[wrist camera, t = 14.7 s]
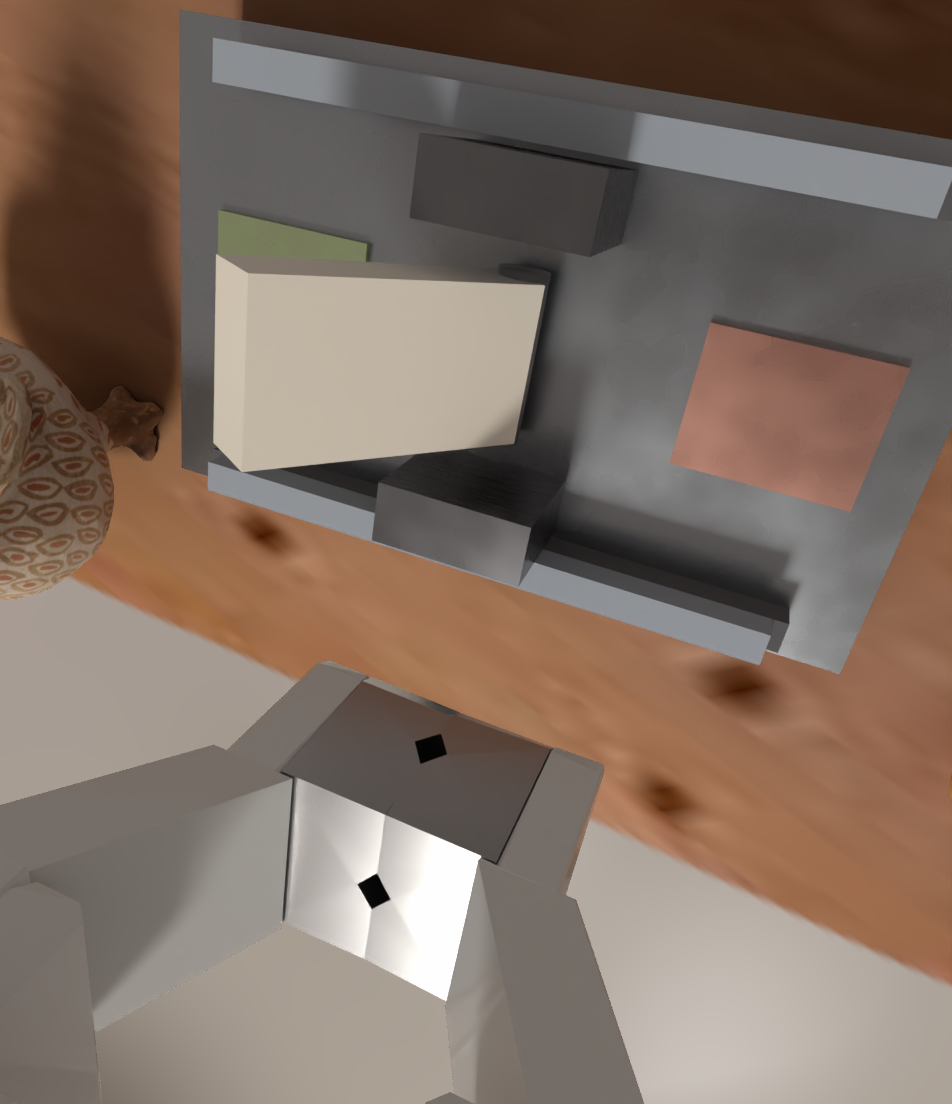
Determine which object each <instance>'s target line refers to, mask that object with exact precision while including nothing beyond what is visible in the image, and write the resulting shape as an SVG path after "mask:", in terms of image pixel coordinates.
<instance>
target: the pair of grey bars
mask: <svg viewBox="0 0 952 1104" xmlns="http://www.w3.org/2000/svg"><path fill="white" fill-rule="evenodd" d="M212 82H215V83H220V84H226V85H231V86H236V87H242V88H247V89H252V90H257V91H263V92H268V93H273V94H279V95H284V96H289V97H294V98H300V99H305V100H310V101H316V102H321V103H326V104H331V105H337V106H342V107H347V108H353V109H358V110H363V111H368V112H374V113H379V114H384V115H390V116H395V117H400V118H405V119H411V120H416V121H421V122H427V123H432V124H437V125H442V126H448V127H453V128H458V129H464V130H469V131H474V132H479V133H485V134H490V135H495V136H501V137H506V138H511V139H516V140H522V141H527V142H532V143H538V144H543V145H548V146H553V147H559V148H564V149H569V150H575V151H580V152H585V153H590V154H596V155H601V156H606V157H612V158H617V159H622V160H627V161H633V162H638V163H643V164H649V165H654V166H659V167H664V168H670V169H675V170H680V171H686V172H691V173H696V174H701V175H707V176H712V177H717V178H723V179H728V180H733V181H738V182H744V183H749V184H754V185H760V186H765V187H770V188H775V189H781V190H786V191H791V192H797V193H802V194H807V195H812V196H818V197H823V198H828V199H834V200H839V201H844V202H849V203H855V204H860V205H865V206H871V207H876V208H881V209H886V210H892V211H897V212H902V213H908V214H913V215H918V216H923V217H929V218H934V219H937V218H938V219H943V220H948V221H952V167H948V166H942V165H936V164H931V163H925V162H919V161H914V160H908V159H902V158H896V157H891V156H885V155H879V154H874V153H868V152H862V151H857V150H851V149H845V148H839V147H834V146H828V145H822V144H817V143H811V142H805V141H799V140H794V139H788V138H782V137H777V136H771V135H765V134H760V133H754V132H748V131H742V130H737V129H731V128H725V127H720V126H714V125H708V124H702V123H697V122H691V121H685V120H680V119H674V118H668V117H663V116H657V115H651V114H645V113H640V112H634V111H628V110H623V109H617V108H611V107H605V106H600V105H594V104H588V103H583V102H577V101H571V100H566V99H560V98H554V97H548V96H543V95H537V94H531V93H526V92H520V91H514V90H509V89H503V88H497V87H491V86H486V85H480V84H474V83H469V82H463V81H457V80H451V79H446V78H440V77H434V76H429V75H423V74H417V73H412V72H406V71H400V70H394V69H389V68H383V67H377V66H372V65H366V64H360V63H354V62H349V61H343V60H337V59H332V58H326V57H320V56H315V55H309V54H303V53H297V52H292V51H286V50H280V49H275V48H269V47H263V46H257V45H252V44H246V43H240V42H235V41H229V40H223V39H218V38H213V74H212ZM208 490H210V491H213V492H216V493H219V494H222V495H225V496H229V497H232V498H235V499H238V500H241V501H244V502H247V503H251V504H254V505H257V506H260V507H263V508H266V509H270V510H273V511H276V512H279V513H282V514H285V515H288V516H292V517H295V518H298V519H301V520H304V521H307V522H310V523H314V524H317V525H320V526H323V527H326V528H329V529H332V530H336V531H339V532H342V533H345V534H348V535H351V536H354V537H358V538H361V539H364V540H367V541H370V542H373V543H376V544H380V545H383V546H386V547H389V548H392V549H395V550H398V551H402V552H405V553H408V554H411V555H414V556H417V557H420V558H424V559H427V560H430V561H433V562H436V563H439V564H442V565H446V566H449V567H452V568H455V569H458V570H461V571H464V572H468V573H471V574H474V575H477V576H480V577H483V578H486V579H490V580H493V581H496V582H499V583H502V584H505V585H509V586H512V587H515V588H518V589H521V590H524V591H527V592H531V593H534V594H537V595H540V596H543V597H546V598H549V599H553V600H556V601H559V602H562V603H565V604H568V605H571V606H575V607H578V608H581V609H584V610H587V611H590V612H593V613H597V614H600V615H603V616H606V617H609V618H612V619H615V620H619V621H622V622H625V623H628V624H631V625H634V626H637V627H641V628H644V629H647V630H650V631H653V632H656V633H659V634H663V635H666V636H669V637H672V638H675V639H678V640H681V641H685V642H688V643H691V644H694V645H697V646H700V647H703V648H707V649H710V650H713V651H716V652H719V653H722V654H726V655H729V656H732V657H735V658H738V659H741V660H744V661H748V662H751V663H754V664H757V665H760V662H761V660H762V657H763V655H764V652H765V650H770V651H773V652H776V653H778V651H779V649H780V647H781V644H782V642H783V639H784V637H785V634H786V632H787V629H788V627H789V624H790V608H787V607H783V606H780V605H777V604H773V603H770V602H767V601H763V600H760V599H757V598H753V597H750V596H747V595H743V594H740V593H737V592H733V591H730V590H727V589H723V588H720V587H717V586H713V585H710V584H707V583H703V582H700V581H697V580H693V579H690V578H687V577H683V576H680V575H677V574H673V573H670V572H667V571H663V570H660V569H657V568H653V567H650V566H647V565H643V564H640V563H637V562H633V561H630V560H627V559H623V558H620V557H617V556H613V555H610V554H607V553H604V552H600V551H597V550H594V549H590V548H587V547H584V546H580V545H577V544H574V543H570V542H567V541H564V540H560V539H557V538H554V537H551V538H550V539H549V541H548V542H547V544H546V546H545V547H544V549H543V550H542V552H541V553H540V555H539V556H538V558H537V559H536V561H535V562H534V564H533V565H532V567H531V568H530V570H529V571H528V573H527V574H526V576H525V578H524V579H523V581H522V582H521V584H520V585H519V587H517V586H514V585H511V584H508V583H504V582H501V581H498V580H495V579H492V578H489V577H486V576H482V575H479V574H476V573H473V572H470V571H467V570H464V569H460V568H457V567H454V566H451V565H448V564H445V563H441V562H438V561H435V560H432V559H429V558H426V557H423V556H419V555H416V554H413V553H410V552H407V551H404V550H401V549H397V548H394V547H391V546H388V545H385V544H382V543H378V542H375V541H372V533H373V525H374V516H375V508H376V499H377V490H378V485H377V484H374V483H370V482H367V481H364V480H360V479H357V478H354V477H350V476H347V475H344V474H340V473H337V472H334V471H330V470H327V469H324V468H320V467H317V466H314V465H306V466H296V467H286V468H277V469H267V470H258V471H248V472H241V471H240V470H239V469H238V468H237V467H236V466H235V465H234V464H233V463H232V461H231V460H230V459H229V458H228V457H227V456H226V455H225V454H224V453H223V452H222V451H221V450H220V449H219V448H218V447H216V448H214V449H213V460H211V461H209V462H208Z"/></svg>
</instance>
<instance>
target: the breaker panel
mask: <svg viewBox="0 0 952 1104" xmlns="http://www.w3.org/2000/svg"><path fill="white" fill-rule="evenodd" d="M213 38H218V39H223V40H229V41H235V42H240V43H246V44H252V45H257V46H263V47H269V48H275V49H280V50H286V51H292V52H297V53H303V54H309V55H315V56H320V57H326V58H332V59H337V60H343V61H349V62H354V63H360V64H366V65H372V66H377V67H383V68H389V69H394V70H400V71H406V72H412V73H417V74H423V75H429V76H434V77H440V78H446V79H451V80H457V81H463V82H469V83H474V84H480V85H486V86H491V87H497V88H503V89H509V90H514V91H520V92H526V93H531V94H537V95H543V96H548V97H554V98H560V99H566V100H571V101H577V102H583V103H588V104H594V105H600V106H605V107H611V108H617V109H623V110H628V111H634V112H640V113H645V114H651V115H657V116H663V117H668V118H674V119H680V120H685V121H691V122H697V123H702V124H708V125H714V126H720V127H725V128H731V129H737V130H742V131H748V132H754V133H760V134H765V135H771V136H777V137H782V138H788V139H794V140H799V141H805V142H811V143H817V144H822V145H828V146H834V147H839V148H845V149H851V150H857V151H862V152H868V153H874V154H879V155H885V156H891V157H896V158H902V159H908V160H914V161H919V162H925V163H931V164H936V165H942V166H948V167H952V140H951V139H945V138H939V137H933V136H927V135H921V134H915V133H909V132H903V131H898V130H892V129H886V128H880V127H874V126H868V125H862V124H856V123H850V122H844V121H838V120H832V119H826V118H820V117H814V116H808V115H802V114H796V113H791V112H785V111H779V110H773V109H767V108H761V107H755V106H749V105H743V104H737V103H731V102H725V101H719V100H713V99H707V98H701V97H695V96H689V95H684V94H678V93H672V92H666V91H660V90H654V89H648V88H642V87H636V86H630V85H624V84H618V83H612V82H606V81H600V80H594V79H588V78H582V77H577V76H571V75H565V74H559V73H553V72H547V71H541V70H535V69H529V68H523V67H517V66H511V65H505V64H499V63H493V62H487V61H481V60H476V59H470V58H464V57H458V56H452V55H446V54H440V53H434V52H428V51H422V50H416V49H410V48H404V47H398V46H392V45H386V44H380V43H374V42H369V41H363V40H357V39H351V38H345V37H339V36H333V35H327V34H321V33H315V32H309V31H303V30H297V29H291V28H285V27H279V26H273V25H267V24H262V23H256V22H250V21H244V20H238V19H232V18H226V17H220V16H214V15H208V14H202V13H196V12H190V11H184V10H180V199H181V407H182V468H184V469H187V470H191V471H194V472H197V473H200V474H203V475H207V476H208V462H209V461H211V460H213V449H214V448H216V447H217V446H216V445H215V444H214V443H213V434H214V364H215V294H216V254H226V255H245V256H264V257H283V258H302V259H321V260H339V261H358V262H377V263H396V264H415V265H433V266H452V267H471V268H490V269H499V264H501V263H512V264H520V265H526V266H531V267H535V268H539V269H543V270H545V271H548V272H550V273H551V277H550V282H549V287H548V292H547V298H546V303H545V308H544V313H543V318H542V323H541V328H540V333H539V338H538V343H537V348H536V353H535V358H534V363H533V368H532V373H531V378H530V383H529V388H528V393H527V399H526V404H525V409H524V414H523V419H522V424H521V429H520V434H519V439H518V444H517V445H516V446H514V447H509V448H498V447H492V446H487V447H478V448H468V449H459V450H449V451H440V452H430V453H420V454H411V455H401V456H392V457H382V458H373V459H363V460H353V461H344V462H334V463H325V464H315V465H314V466H317V467H320V468H324V469H327V470H330V471H334V472H337V473H340V474H344V475H347V476H350V477H354V478H357V479H360V480H364V481H367V482H370V483H374V484H377V485H378V490H377V499H376V508H375V516H374V525H373V533H372V541H375V542H378V543H382V544H385V545H388V546H391V547H394V548H397V549H401V550H404V551H407V552H410V553H413V554H416V555H419V556H423V557H426V558H429V559H432V560H435V561H438V562H441V563H445V564H448V565H451V566H454V567H457V568H460V569H464V570H467V571H470V572H473V573H476V574H479V575H482V576H486V577H489V578H492V579H495V580H498V581H501V582H504V583H508V584H511V585H514V586H517V587H519V585H520V584H521V582H522V581H523V579H524V578H525V576H526V574H527V573H528V571H529V570H530V568H531V567H532V565H533V564H534V562H535V561H536V559H537V558H538V556H539V555H540V553H541V552H542V550H543V549H544V547H545V546H546V544H547V542H548V541H549V539H550V538H551V537H554V538H557V539H560V540H564V541H567V542H570V543H574V544H577V545H580V546H584V547H587V548H590V549H594V550H597V551H600V552H604V553H607V554H610V555H613V556H617V557H620V558H623V559H627V560H630V561H633V562H637V563H640V564H643V565H647V566H650V567H653V568H657V569H660V570H663V571H667V572H670V573H673V574H677V575H680V576H683V577H687V578H690V579H693V580H697V581H700V582H703V583H707V584H710V585H713V586H717V587H720V588H723V589H727V590H730V591H733V592H737V593H740V594H743V595H747V596H750V597H753V598H757V599H760V600H763V601H767V602H770V603H773V604H777V605H780V606H783V607H787V608H790V624H789V627H788V629H787V632H786V634H785V637H784V639H783V642H782V644H781V647H780V649H779V651H778V653H776V652H773V651H770V650H765V651H768V652H771V653H774V654H777V655H781V656H784V657H787V658H790V659H793V660H797V661H800V662H803V663H806V664H809V665H812V666H816V667H819V668H822V669H825V670H828V671H832V672H835V673H838V674H840V672H841V670H842V668H843V665H844V663H845V661H846V659H847V657H848V654H849V652H850V650H851V648H852V646H853V643H854V641H855V639H856V637H857V635H858V632H859V630H860V628H861V626H862V624H863V622H864V619H865V617H866V615H867V613H868V611H869V608H870V606H871V604H872V602H873V600H874V597H875V595H876V593H877V591H878V589H879V586H880V584H881V582H882V580H883V578H884V575H885V573H886V571H887V569H888V567H889V564H890V562H891V560H892V558H893V556H894V553H895V551H896V549H897V547H898V545H899V543H900V540H901V538H902V536H903V534H904V532H905V529H906V527H907V525H908V523H909V521H910V518H911V516H912V514H913V512H914V510H915V507H916V505H917V503H918V501H919V499H920V496H921V494H922V492H923V490H924V488H925V485H926V483H927V481H928V479H929V477H930V474H931V472H932V470H933V468H934V466H935V464H936V461H937V459H938V457H939V455H940V453H941V450H942V448H943V446H944V444H945V442H946V439H947V437H948V435H949V433H950V431H951V428H952V221H948V220H943V219H938V218H937V219H934V218H929V217H923V216H918V215H913V214H908V213H902V212H897V211H892V210H886V209H881V208H876V207H871V206H865V205H860V204H855V203H849V202H844V201H839V200H834V199H828V198H823V197H818V196H812V195H807V194H802V193H797V192H791V191H786V190H781V189H775V188H770V187H765V186H760V185H754V184H749V183H744V182H738V181H733V180H728V179H723V178H717V177H712V176H707V175H701V174H696V173H691V172H686V171H680V170H675V169H670V168H664V167H659V166H654V165H649V164H643V163H638V162H633V161H627V160H622V159H617V158H612V157H606V156H601V155H596V154H590V153H585V152H580V151H575V150H569V149H564V148H559V147H553V146H548V145H543V144H538V143H532V142H527V141H522V140H516V139H511V138H506V137H501V136H495V135H490V134H485V133H479V132H474V131H469V130H464V129H458V128H453V127H448V126H442V125H437V124H432V123H427V122H421V121H416V120H411V119H405V118H400V117H395V116H390V115H384V114H379V113H374V112H368V111H363V110H358V109H353V108H347V107H342V106H337V105H331V104H326V103H321V102H316V101H310V100H305V99H300V98H294V97H289V96H284V95H279V94H273V93H268V92H263V91H257V90H252V89H247V88H242V87H236V86H231V85H226V84H220V83H215V82H212V74H213Z"/></svg>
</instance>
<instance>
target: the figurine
mask: <svg viewBox="0 0 952 1104" xmlns="http://www.w3.org/2000/svg"><path fill="white" fill-rule="evenodd" d="M162 415H163V411H162V410H161V409H160V408H159V407H158V406H157V405H155V404H154V403H153V402H137V401H135V400H134V398H133V397H132V395H131V394H130V391H128V390H126V389H125V388H123V387H122V386H117V387H115V388H114V389H112V390H111V393H110V395H109V398H108V399H107V400H106V401H105V403H104V404H103V405H102V406H101V407H99V408H98V409H95V410H93V411H86V410H85V409H84V408H83V407H82V405H81V404H80V403H79V402H78V401H77V399H76V398H75V396H74V395H73V394H72V392H71V391H70V390H69V388H68V387H67V386H66V385H65V384H64V383H63V382H62V380H61V379H60V378H59V377H58V376H57V375H56V374H55V373H54V372H53V371H52V369H51V368H50V367H49V366H48V365H47V364H46V363H45V362H44V361H43V360H42V359H41V358H40V357H39V356H37V355H36V354H35V353H33V352H31V351H30V350H28V349H26V348H24V347H22V346H20V345H17V344H15V343H13V342H11V341H9V340H7V339H4V338H2V337H0V600H8V599H17V598H22V597H25V596H29V595H33V594H37V593H40V592H42V591H44V590H47V589H48V588H51V587H52V586H54V585H56V584H57V583H59V582H60V581H62V580H63V579H65V578H66V577H68V576H69V575H70V574H72V573H73V572H75V571H76V570H77V569H78V568H79V567H81V566H82V565H83V564H84V563H85V562H87V561H88V560H89V559H90V558H91V557H92V556H93V555H94V554H95V553H96V551H97V550H98V548H99V547H100V545H101V543H102V542H103V540H104V538H105V535H106V533H107V531H108V528H109V524H110V520H111V516H112V511H113V505H114V486H113V481H112V475H111V470H110V465H109V460H108V457H107V455H106V452H107V451H109V450H111V449H113V448H115V447H119V446H127V447H130V448H131V449H132V450H133V451H134V452H135V453H136V454H137V455H138V456H139V457H140V458H141V459H142V460H143V461H151V460H152V459H153V458H154V456H155V455H156V452H155V446H156V442H157V437H156V436H155V435H154V433H153V429H154V427H155V426H156V425H157V424H158V423H159V421H160V420H161V418H162Z"/></svg>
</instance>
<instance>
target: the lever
mask: <svg viewBox="0 0 952 1104" xmlns="http://www.w3.org/2000/svg"><path fill="white" fill-rule="evenodd" d="M550 277H551V273H550V272H548V271H545V270H543V269H539V268H535V267H531V266H526V265H520V264H512V263H501V264H499V269H490V268H471V267H452V266H433V265H415V264H396V263H377V262H358V261H339V260H321V259H302V258H283V257H264V256H245V255H226V254H216V294H215V364H214V434H213V443H214V444H215V445H216V446H217V447H218V448H219V449H220V450H221V451H222V452H223V453H224V454H225V455H226V456H227V457H228V458H229V459H230V460H231V461H232V463H233V464H234V465H235V466H236V467H237V468H238V469H239V470H240V471H241V472H248V471H258V470H267V469H277V468H286V467H296V466H306V465H315V464H325V463H334V462H344V461H353V460H363V459H373V458H382V457H392V456H401V455H411V454H420V453H430V452H440V451H449V450H459V449H468V448H478V447H487V446H492V447H498V448H509V447H514V446H516V445H517V444H518V439H519V434H520V429H521V424H522V419H523V414H524V409H525V404H526V399H527V393H528V388H529V383H530V378H531V373H532V368H533V363H534V358H535V353H536V348H537V343H538V338H539V333H540V328H541V323H542V318H543V313H544V308H545V303H546V298H547V292H548V287H549V282H550Z"/></svg>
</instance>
